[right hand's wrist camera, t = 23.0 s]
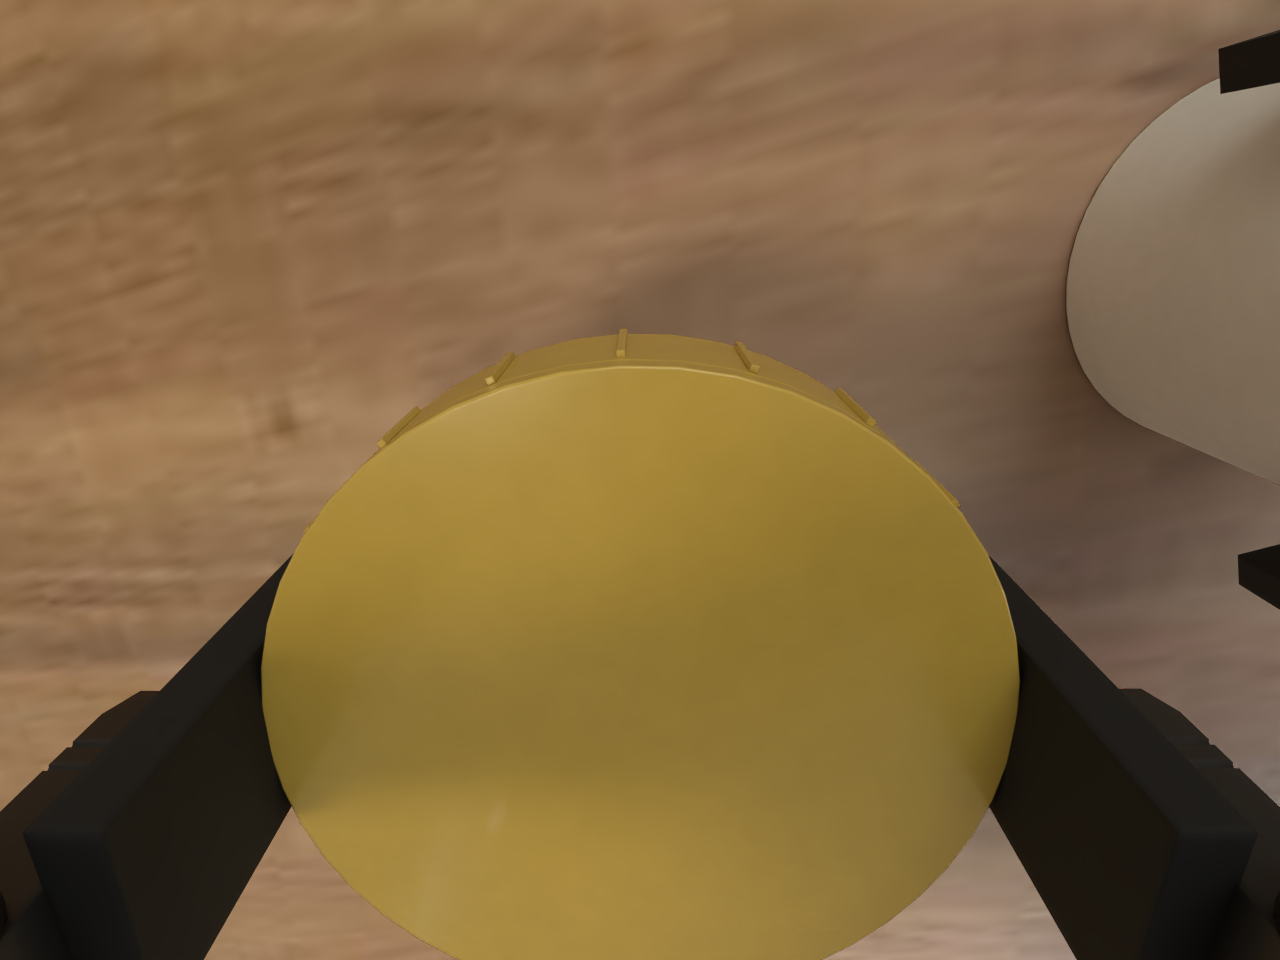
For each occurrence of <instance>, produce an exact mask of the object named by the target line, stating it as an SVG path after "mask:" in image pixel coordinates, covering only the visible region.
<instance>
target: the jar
mask: <svg viewBox="0 0 1280 960" xmlns="http://www.w3.org/2000/svg"><path fill="white" fill-rule="evenodd" d="M1066 310H1067V318H1068V326H1069V332H1070V336H1071V339H1072V343H1073V347H1074V350H1075V353H1076V355H1077V357H1078V360H1079V362H1080V364H1081V366H1082V369H1083V371H1084V373H1085V374H1086V376H1087V377H1088V379H1089V380H1090V382H1091V383H1092V385H1093V386H1094V388H1095V389H1096V390H1097V391H1098V392H1099V394H1100V395H1101V396H1102V397H1103V398H1104V399H1105V400H1106V401H1107V402H1108V403H1109V404H1110V405H1111V406H1112V407H1114V408H1115V409H1116V410H1117V411H1119V412H1120V413H1121V414H1122V415H1124V416H1125V417H1127V418H1129V419H1131V420H1132V421H1134V422H1136V423H1138V424H1140V425H1141V426H1144V427H1146V428H1148V429H1150V430H1153V431H1155V432H1157V433H1160V434H1162V435H1164V436H1167V437H1169V438H1171V439H1174V440H1176V441H1178V442H1180V443H1183V444H1185V445H1187V446H1190V447H1192V448H1194V449H1197V450H1199V451H1201V452H1204V453H1206V454H1208V455H1210V456H1213V457H1215V458H1217V459H1220V460H1222V461H1224V462H1227V463H1229V464H1231V465H1234V466H1236V467H1238V468H1240V469H1243V470H1245V471H1247V472H1250V473H1252V474H1254V475H1257V476H1259V477H1261V478H1264V479H1266V480H1268V481H1270V482H1273V483H1275V484H1277V485H1280V83H1276V84H1270V85H1265V86H1260V87H1255V88H1250V89H1245V90H1240V91H1234V92H1229V93H1224V94H1220V78H1219V79H1216V80H1214V81H1212V82H1210V83H1208V84H1206V85H1204V86H1202V87H1200V88H1199V89H1197V90H1196V91H1194V92H1192V93H1191V94H1189V95H1187V96H1186V97H1184V98H1183V99H1181V100H1179V101H1178V102H1177V103H1175V104H1174V105H1173V106H1172V107H1170V108H1169V109H1168V110H1166V111H1165V112H1164V113H1163V114H1161V115H1160V116H1159V117H1157V118H1156V119H1155V120H1154V121H1153V122H1152V123H1151V124H1150V125H1149V126H1148V127H1147V128H1146V129H1145V130H1144V131H1143V132H1142V133H1140V134H1139V135H1138V136H1137V137H1136V138H1135V139H1134V140H1133V142H1132V143H1131V144H1130V145H1129V146H1128V148H1127V149H1126V150H1125V151H1124V152H1123V153H1122V155H1121V156H1120V157H1119V158H1118V159H1117V161H1116V162H1115V163H1114V165H1113V166H1112V168H1111V169H1110V171H1109V172H1108V174H1107V175H1106V177H1105V178H1104V180H1103V181H1102V183H1101V184H1100V186H1099V187H1098V189H1097V191H1096V193H1095V195H1094V197H1093V199H1092V201H1091V202H1090V204H1089V206H1088V208H1087V210H1086V213H1085V215H1084V218H1083V220H1082V223H1081V225H1080V228H1079V230H1078V233H1077V236H1076V239H1075V243H1074V247H1073V251H1072V254H1071V258H1070V263H1069V271H1068V278H1067V289H1066Z"/></svg>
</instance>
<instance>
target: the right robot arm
mask: <svg viewBox="0 0 1280 960" xmlns="http://www.w3.org/2000/svg"><path fill="white" fill-rule="evenodd" d="M292 556H293V555H292ZM292 556H291V557H290V558H289V559H288V560H287V561H286V562H285V563H284V564H283V565H282V566H281V567H280V568H279V569H278V570H277V571H276V572H275V573H274V574H273V575H272V576H271V577H270V578H269V579H268V580H267V581H266V582H265V583H264V584H263V585H262V586H261V588H260V589H259V590H258V591H257V592H256V593H255V594H254V595H253V596H252V597H251V598H250V599H249V600H248V601H247V602H246V603H245V604H244V605H243V606H242V607H241V608H240V609H239V610H238V611H237V612H236V613H235V614H234V615H233V616H232V617H231V618H230V619H229V620H228V621H227V622H226V624H225V625H224V626H223V627H222V628H221V629H220V630H219V631H218V632H217V633H216V634H215V635H214V636H213V637H212V638H211V639H210V640H209V641H208V642H207V643H206V644H205V645H204V646H203V647H202V648H201V649H200V650H199V651H198V652H197V653H196V654H195V655H194V656H193V657H192V659H191V660H190V661H189V662H188V663H187V664H186V665H185V666H184V667H183V668H182V669H181V670H180V671H179V672H178V673H177V674H176V675H175V676H174V677H173V678H172V679H171V680H170V681H169V682H168V683H167V684H166V685H165V686H164V687H163V688H162V689H161V690H160V691H140V692H138V693H136V694H135V695H133V696H131V697H130V698H128V699H126V700H125V701H123V702H121V703H120V704H118V705H116V706H115V707H113V708H111V709H110V710H108V711H106V712H105V713H103V714H101V715H100V716H99V717H98V718H97V719H96V720H95V721H94V722H93V723H92V724H91V725H90V726H89V727H88V728H87V729H86V730H85V731H84V732H83V733H82V734H81V735H80V736H79V737H78V738H76V739H75V740H74V741H73V746H72V747H67V748H66V749H65V750H64V751H63V752H62V753H61V754H60V755H59V756H58V757H57V758H56V759H55V760H54V761H53V762H51V763H50V764H49V769H48V771H42V772H41V773H40V774H39V775H38V776H37V777H36V778H35V779H34V780H33V781H32V782H31V783H30V784H29V785H28V786H26V787H25V788H24V789H23V790H22V791H21V792H20V793H19V794H18V795H17V796H16V797H15V798H14V799H13V800H12V801H11V802H10V803H9V804H8V805H7V806H6V807H5V808H4V809H3V810H2V811H0V960H204V958H205V956H206V955H207V953H208V951H209V949H210V948H211V946H212V944H213V943H214V941H215V939H216V937H217V936H218V934H219V932H220V930H221V929H222V927H223V925H224V923H225V922H226V920H227V918H228V916H229V915H230V913H231V911H232V909H233V908H234V906H235V904H236V902H237V901H238V899H239V897H240V895H241V894H242V892H243V890H244V888H245V887H246V885H247V883H248V881H249V880H250V878H251V876H252V874H253V873H254V871H255V869H256V867H257V866H258V864H259V862H260V860H261V859H262V857H263V855H264V853H265V852H266V850H267V848H268V846H269V845H270V843H271V841H272V839H273V838H274V836H275V834H276V832H277V831H278V829H279V827H280V825H281V824H282V822H283V820H284V818H285V817H286V815H287V813H288V811H289V810H290V808H291V806H292V805H291V803H290V801H289V800H288V798H287V796H286V794H285V792H284V790H283V788H282V785H281V782H280V779H279V776H278V773H277V770H276V767H275V764H274V761H273V756H272V752H271V748H270V743H269V738H268V733H267V728H266V723H265V718H264V713H263V707H262V682H261V664H262V657H263V650H264V643H265V635H266V628H267V622H268V619H269V616H270V613H271V609H272V606H273V603H274V600H275V596H276V593H277V590H278V586H279V583H280V580H281V578H282V576H283V574H284V572H285V570H286V568H287V566H288V564H289V562H290V560H291V558H292ZM989 558H990V560H991V562H992V565H993V567H994V569H995V572H996V574H997V576H998V578H999V581H1000V583H1001V585H1002V588H1003V590H1004V592H1005V595H1006V599H1007V603H1008V607H1009V611H1010V615H1011V618H1012V622H1013V626H1014V630H1015V634H1016V641H1017V652H1018V664H1019V675H1020V687H1019V700H1018V710H1017V716H1016V722H1015V727H1014V731H1013V736H1012V741H1011V746H1010V750H1009V755H1008V760H1007V764H1006V768H1005V770H1004V773H1003V775H1002V778H1001V780H1000V783H999V785H998V788H997V790H996V793H995V795H994V798H993V800H992V802H991V804H990V806H989V807H990V809H991V811H992V812H993V814H994V816H995V818H996V819H997V821H998V823H999V825H1000V826H1001V828H1002V830H1003V832H1004V833H1005V835H1006V837H1007V839H1008V840H1009V842H1010V844H1011V846H1012V847H1013V849H1014V851H1015V853H1016V854H1017V856H1018V858H1019V860H1020V861H1021V863H1022V865H1023V866H1024V868H1025V870H1026V872H1027V873H1028V875H1029V877H1030V879H1031V880H1032V882H1033V884H1034V886H1035V887H1036V889H1037V891H1038V893H1039V894H1040V896H1041V898H1042V900H1043V901H1044V903H1045V905H1046V907H1047V908H1048V910H1049V912H1050V914H1051V915H1052V917H1053V919H1054V921H1055V922H1056V924H1057V926H1058V928H1059V929H1060V931H1061V933H1062V935H1063V936H1064V938H1065V940H1066V942H1067V943H1068V945H1069V947H1070V949H1071V950H1072V952H1073V954H1074V956H1075V957H1076V959H1077V960H1280V807H1279V806H1278V805H1277V804H1276V803H1275V802H1274V801H1273V800H1272V799H1271V798H1269V797H1268V796H1267V795H1266V794H1265V793H1264V792H1263V791H1262V790H1261V789H1260V788H1259V787H1258V786H1257V785H1256V784H1255V783H1254V782H1253V781H1252V780H1251V779H1250V778H1249V777H1247V776H1246V775H1245V774H1244V773H1243V772H1242V771H1241V770H1240V769H1239V768H1234V767H1233V762H1232V761H1231V760H1230V759H1229V758H1228V757H1227V756H1225V755H1224V754H1223V753H1222V752H1221V751H1220V750H1219V749H1218V748H1217V747H1216V746H1215V745H1210V744H1209V739H1208V738H1207V737H1206V736H1205V735H1203V734H1202V733H1201V732H1200V731H1199V730H1198V729H1197V728H1196V727H1195V726H1194V725H1193V724H1192V723H1191V722H1190V721H1189V720H1188V719H1187V718H1186V717H1185V716H1184V715H1183V714H1181V713H1180V712H1179V711H1177V710H1176V709H1174V708H1172V707H1171V706H1169V705H1167V704H1166V703H1164V702H1162V701H1161V700H1159V699H1157V698H1156V697H1154V696H1152V695H1150V694H1149V693H1147V692H1145V691H1144V690H1142V689H1118V688H1117V687H1116V686H1115V685H1114V684H1113V683H1112V682H1111V681H1110V680H1109V679H1108V678H1107V676H1106V675H1105V674H1104V673H1103V672H1102V671H1101V670H1100V669H1099V668H1098V667H1097V666H1096V665H1095V664H1094V663H1093V662H1092V661H1091V660H1090V659H1089V658H1088V657H1087V656H1086V655H1085V654H1084V653H1083V652H1082V651H1081V650H1080V649H1079V648H1078V647H1077V646H1076V645H1075V644H1074V643H1073V642H1072V640H1071V639H1070V638H1069V637H1068V636H1067V635H1066V634H1065V633H1064V632H1063V631H1062V630H1061V629H1060V628H1059V627H1058V626H1057V625H1056V624H1055V623H1054V622H1053V621H1052V620H1051V619H1050V618H1049V617H1048V616H1047V615H1046V614H1045V613H1044V612H1043V611H1042V610H1041V609H1040V608H1039V607H1038V606H1037V604H1036V603H1035V602H1034V601H1033V600H1032V599H1031V598H1030V597H1029V596H1028V595H1027V594H1026V593H1025V592H1024V591H1023V590H1022V589H1021V588H1020V587H1019V586H1018V585H1017V584H1016V583H1015V582H1014V581H1013V580H1012V579H1011V578H1010V577H1009V576H1008V575H1007V574H1006V573H1005V572H1004V571H1003V570H1002V568H1001V567H1000V566H999V565H998V564H997V563H996V562H995V561H994V560H993V559H992V558H991V557H990V556H989Z"/></svg>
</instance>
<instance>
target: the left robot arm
mask: <svg viewBox="0 0 1280 960" xmlns="http://www.w3.org/2000/svg"><path fill="white" fill-rule="evenodd" d="M1219 71H1220V94H1224V93H1229V92H1234V91H1240V90H1245V89H1250V88H1255V87H1260V86H1265V85H1270V84H1276V83H1280V30H1278V31H1275V32H1272V33H1268V34H1265V35H1262V36H1259V37H1256V38H1252V39H1249V40H1246V41H1243V42H1240V43H1237V44H1233V45H1230V46H1227V47H1224V48H1221V49H1219ZM1238 571H1239V584H1240V585H1241V586H1243V587H1244V588H1246V589H1248V590H1249V591H1251V592H1252V593H1254V594H1256V595H1257V596H1259V597H1260V598H1262V599H1264V600H1265V601H1267V602H1268V603H1270V604H1272V605H1273V606H1275V607H1276V608H1278V609H1280V544H1279V545H1275V546H1271V547H1267V548H1263V549H1259V550H1255V551H1252V552H1248V553H1244V554H1240V555H1238Z"/></svg>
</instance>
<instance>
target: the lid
mask: <svg viewBox="0 0 1280 960" xmlns="http://www.w3.org/2000/svg"><path fill="white" fill-rule="evenodd" d="M376 444H377V445H378V447H379V448H380V449H379V450H378V451H377V452H376V453H375V454H374V455H373V456H372V457H371V458H370V459H368V460H367V461H366V462H365V463H364V464H363V465H362V466H361V467H360V468H359V469H358V470H357V472H356V473H355V474H354V475H353V476H352V477H351V478H350V479H349V480H348V481H347V482H346V483H345V484H344V485H343V486H342V487H341V488H340V489H339V490H338V491H337V492H336V493H335V494H334V495H333V496H332V497H331V498H330V499H329V500H328V502H327V503H326V505H325V506H324V507H323V509H322V510H321V512H320V513H319V515H318V516H317V517H316V518H315V519H314V520H313V521H312V522H311V523H310V524H309V525H308V526H307V527H306V529H305V531H304V536H303V537H302V539H301V540H300V542H299V544H298V546H297V548H296V550H295V552H294V554H293V556H292V558H291V560H290V562H289V564H288V566H287V568H286V570H285V572H284V574H283V576H282V578H281V580H280V583H279V586H278V590H277V593H276V596H275V600H274V603H273V606H272V609H271V613H270V616H269V619H268V622H267V628H266V635H265V643H264V650H263V657H262V664H261V682H262V707H263V713H264V718H265V723H266V728H267V733H268V738H269V743H270V748H271V752H272V756H273V761H274V764H275V767H276V770H277V773H278V776H279V779H280V782H281V785H282V788H283V790H284V792H285V794H286V796H287V798H288V800H289V801H290V803H291V805H292V807H293V809H294V811H295V813H296V815H297V817H298V819H299V821H300V823H301V825H302V826H303V828H304V829H305V830H306V832H307V833H308V835H309V836H310V838H311V839H312V840H313V842H314V843H315V845H316V846H317V848H318V849H319V851H320V852H321V853H322V855H323V856H324V858H325V859H326V860H327V861H328V862H329V863H330V864H331V865H332V866H333V868H334V869H335V870H336V871H337V872H338V873H339V874H340V875H341V876H342V877H343V879H344V880H345V881H346V882H347V883H348V884H349V885H350V886H351V887H352V888H353V889H354V890H355V891H356V892H357V893H358V894H360V895H361V896H362V897H363V898H364V899H365V900H367V901H368V902H369V903H370V904H371V905H372V906H373V907H375V908H376V909H377V910H378V911H379V912H380V913H382V914H383V915H384V916H386V917H387V918H389V919H390V920H391V921H393V922H394V923H396V924H397V925H399V926H400V927H402V928H403V929H405V930H406V931H407V932H409V933H410V934H412V935H413V936H415V937H416V938H418V939H420V940H422V941H424V942H425V943H427V944H429V945H431V946H433V947H435V948H437V949H438V950H440V951H442V952H444V953H446V954H448V955H450V956H451V957H454V958H456V959H458V960H822V959H824V958H826V957H828V956H830V955H832V954H834V953H836V952H838V951H840V950H842V949H844V948H846V947H848V946H850V945H853V944H854V943H856V942H857V941H859V940H861V939H862V938H864V937H865V936H867V935H868V934H870V933H872V932H873V931H875V930H876V929H878V928H879V927H881V926H882V925H884V924H886V923H887V922H889V921H890V920H891V919H892V918H894V917H895V916H896V915H897V914H899V913H900V912H901V911H902V910H903V909H905V908H906V907H907V906H908V905H910V904H911V903H912V902H913V901H915V900H916V899H917V898H918V897H920V896H921V895H922V894H923V893H924V892H925V891H926V889H927V888H928V887H929V886H930V885H931V884H932V883H933V882H934V881H935V880H936V879H937V878H938V877H939V876H940V875H941V874H942V873H943V872H944V871H945V870H946V869H947V868H948V867H949V866H950V864H951V863H952V862H953V860H954V859H955V858H956V856H957V855H958V854H959V852H960V851H961V850H962V849H963V847H964V846H965V845H966V843H967V842H968V841H969V839H970V838H971V837H972V835H973V834H974V832H975V830H976V828H977V827H978V825H979V823H980V821H981V820H982V818H983V816H984V814H985V813H986V811H987V809H988V807H989V806H990V804H991V802H992V800H993V798H994V795H995V793H996V790H997V788H998V785H999V783H1000V780H1001V778H1002V775H1003V773H1004V770H1005V768H1006V764H1007V760H1008V755H1009V750H1010V746H1011V741H1012V736H1013V731H1014V727H1015V722H1016V716H1017V710H1018V700H1019V687H1020V675H1019V664H1018V652H1017V641H1016V634H1015V630H1014V626H1013V622H1012V618H1011V615H1010V611H1009V607H1008V603H1007V599H1006V595H1005V592H1004V590H1003V588H1002V585H1001V583H1000V581H999V578H998V576H997V574H996V572H995V569H994V567H993V565H992V562H991V560H990V558H989V555H988V553H987V551H986V550H985V548H984V547H983V545H982V544H981V542H980V540H979V539H978V537H977V536H976V534H975V533H974V531H973V529H972V528H971V526H970V525H969V523H968V522H967V520H966V518H965V517H964V515H963V514H962V512H961V511H960V510H959V509H958V507H959V506H960V504H959V502H958V501H957V500H956V499H955V498H954V497H953V496H952V495H951V494H950V493H949V492H948V491H947V490H946V489H945V488H944V487H943V486H942V485H940V484H939V483H938V482H937V481H936V480H935V479H934V478H933V477H932V476H931V475H930V474H929V473H928V472H927V471H926V470H925V469H924V468H923V467H922V466H921V465H920V464H918V463H917V462H916V461H915V460H912V459H911V458H910V457H909V456H908V455H907V454H906V453H905V452H904V451H903V450H902V449H901V448H900V447H899V446H898V445H897V444H896V443H895V442H894V441H893V440H892V439H891V438H890V437H889V436H888V435H886V434H885V433H884V432H883V431H882V430H881V429H880V428H879V427H878V426H877V425H876V421H875V420H874V419H873V418H872V417H871V416H870V415H869V414H868V413H867V412H866V411H865V410H864V409H863V408H862V407H861V406H859V405H858V404H857V403H856V402H855V401H854V400H853V399H852V398H851V397H850V396H849V395H848V394H847V393H846V392H845V391H843V390H842V389H841V388H838V389H837V390H836V392H834V391H833V390H831V389H830V388H828V387H826V386H825V385H823V384H822V383H820V382H818V381H817V380H815V379H814V378H812V377H810V376H809V375H807V374H805V373H803V372H801V371H799V370H796V369H794V368H792V367H790V366H787V365H785V364H783V363H781V362H779V361H776V360H774V359H772V358H770V357H767V356H765V355H762V354H759V353H756V352H752V351H749V350H748V349H747V348H746V347H745V345H744V344H743V343H742V342H738V341H736V342H735V346H732V345H728V344H725V343H721V342H717V341H711V340H704V339H698V338H691V337H685V336H678V335H672V334H627V329H620V330H619V334H615V335H606V336H597V337H588V338H579V339H574V340H570V341H566V342H562V343H557V344H553V345H549V346H545V347H541V348H537V349H533V350H530V351H527V352H525V353H522V354H520V355H517V356H515V355H514V352H513V351H512V352H509V353H507V354H506V355H505V356H504V357H503V358H502V359H501V361H500V362H499V363H497V364H495V365H492V366H489V367H487V368H485V369H484V370H482V371H480V372H478V373H477V374H475V375H473V376H471V377H469V378H468V379H466V380H464V381H462V382H461V383H459V384H457V385H455V386H454V387H452V388H450V389H448V390H447V391H446V392H444V393H443V394H442V395H440V396H439V397H438V398H437V399H435V400H434V401H433V402H431V403H430V404H429V405H427V406H426V407H425V408H424V409H422V410H420V409H419V408H418V407H417V406H416V407H415V408H414V409H413V410H411V411H410V412H409V413H408V414H407V415H406V416H405V417H404V418H403V419H402V420H401V421H400V422H399V423H397V424H396V425H395V426H394V427H393V428H392V429H391V430H390V431H389V432H388V433H387V434H386V435H385V436H383V437H382V438H381V439H380V440H379V441H378V442H377V443H376Z"/></svg>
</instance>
